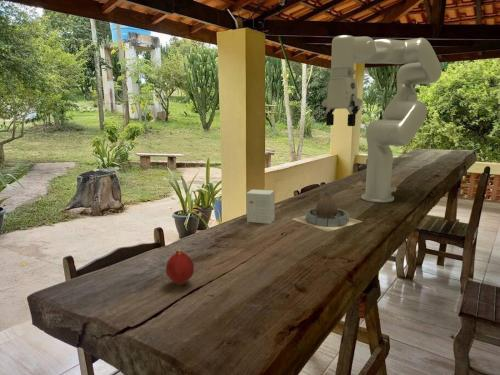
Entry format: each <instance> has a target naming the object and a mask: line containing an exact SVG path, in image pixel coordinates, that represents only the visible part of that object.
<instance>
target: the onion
mask: <svg viewBox="0 0 500 375" xmlns="http://www.w3.org/2000/svg"><path fill="white" fill-rule="evenodd" d="M194 270H195V265H194V262H193V259H192V258H191V257H190V256H189V255H188V254H186V253H185V252H183V251H182V250H181V249H177V250H176V251H175V253H174V254H172V255H171V257H169V259H168V260H167V263H166V266H165V273H166V275H167V278H168V279H169V280H170V281H171V282H174V283H175V284H177V285H179V286H182V285H185V283H187V282H188V281H189V280H190V279H191V278H192V277H193V274H194Z"/></svg>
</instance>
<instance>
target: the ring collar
mask: <svg viewBox="0 0 500 375" xmlns="http://www.w3.org/2000/svg"><path fill="white" fill-rule="evenodd" d="M304 214H305V215H304V216H305V220H306V221H307V222H308V223H310V224H313V225H316V226H324V227H338V226H342V225H346V224H347V223H348V221H349V218H350V212H348V211H346V210H345V209H342V208H338V207H337V215H336V217H337V218H324V217H317V215H316V207H312V208H307V210H306V211H305V212H304Z"/></svg>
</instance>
